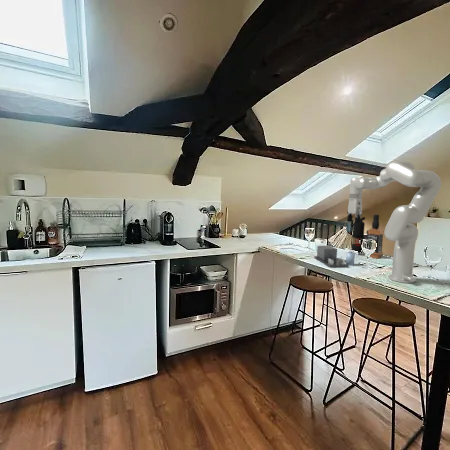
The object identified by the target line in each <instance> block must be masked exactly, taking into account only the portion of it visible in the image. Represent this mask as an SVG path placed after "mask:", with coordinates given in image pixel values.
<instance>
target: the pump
mask: <svg viewBox="0 0 450 450" xmlns="http://www.w3.org/2000/svg"><path fill="white" fill-rule="evenodd" d="M355 256H356V253H355V252H354V251H348V252H346V257H345V258H346V259H345V264H347V265H348V267H351V266H355Z"/></svg>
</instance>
